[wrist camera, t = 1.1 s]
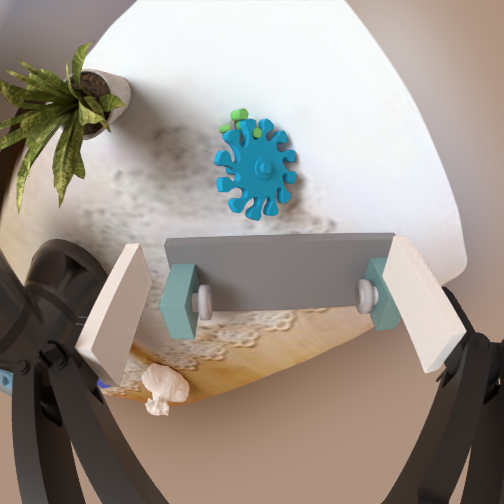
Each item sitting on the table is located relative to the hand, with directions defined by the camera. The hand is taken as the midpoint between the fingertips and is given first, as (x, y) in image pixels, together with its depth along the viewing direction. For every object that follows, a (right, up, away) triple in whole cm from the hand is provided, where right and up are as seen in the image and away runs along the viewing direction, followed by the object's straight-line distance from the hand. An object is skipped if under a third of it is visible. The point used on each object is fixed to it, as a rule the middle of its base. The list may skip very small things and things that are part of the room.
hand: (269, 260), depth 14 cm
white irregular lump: (-19, -26, +42) cm, 53 cm away
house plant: (-17, +18, +10) cm, 27 cm away
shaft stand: (+3, -2, +25) cm, 25 cm away
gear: (0, +11, +15) cm, 19 cm away
